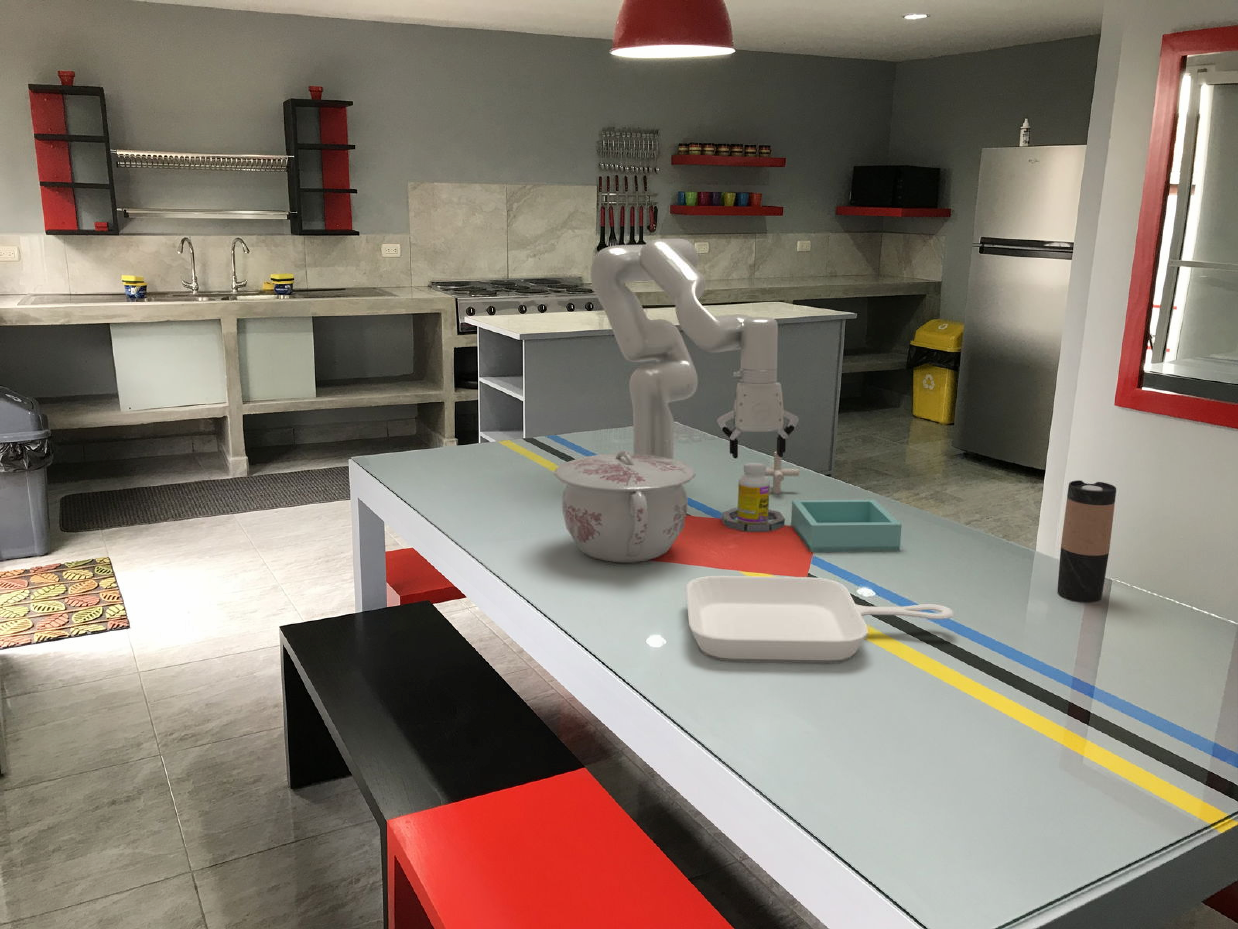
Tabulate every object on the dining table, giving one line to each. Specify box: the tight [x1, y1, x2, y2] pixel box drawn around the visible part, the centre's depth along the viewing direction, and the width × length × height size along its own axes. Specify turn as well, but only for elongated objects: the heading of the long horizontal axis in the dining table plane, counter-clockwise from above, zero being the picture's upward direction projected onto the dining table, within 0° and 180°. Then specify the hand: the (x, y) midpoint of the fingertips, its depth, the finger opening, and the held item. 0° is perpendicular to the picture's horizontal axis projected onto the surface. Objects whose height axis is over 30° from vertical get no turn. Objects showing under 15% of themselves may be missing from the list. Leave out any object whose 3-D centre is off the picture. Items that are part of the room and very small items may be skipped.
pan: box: [685, 575, 954, 664], centre depth 160 cm, size 27×42×5 cm, turn 88°
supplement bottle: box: [736, 462, 771, 523], centre depth 216 cm, size 7×7×13 cm
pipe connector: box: [764, 451, 800, 495], centre depth 240 cm, size 10×10×10 cm
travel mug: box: [1057, 479, 1117, 604], centre depth 173 cm, size 8×8×20 cm
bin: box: [790, 499, 903, 553], centre depth 207 cm, size 18×18×6 cm
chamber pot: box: [553, 449, 696, 564], centre depth 195 cm, size 28×28×21 cm
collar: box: [720, 507, 786, 533], centre depth 217 cm, size 13×13×2 cm
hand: (757, 456), depth 213 cm, fingers open, 9 cm apart
